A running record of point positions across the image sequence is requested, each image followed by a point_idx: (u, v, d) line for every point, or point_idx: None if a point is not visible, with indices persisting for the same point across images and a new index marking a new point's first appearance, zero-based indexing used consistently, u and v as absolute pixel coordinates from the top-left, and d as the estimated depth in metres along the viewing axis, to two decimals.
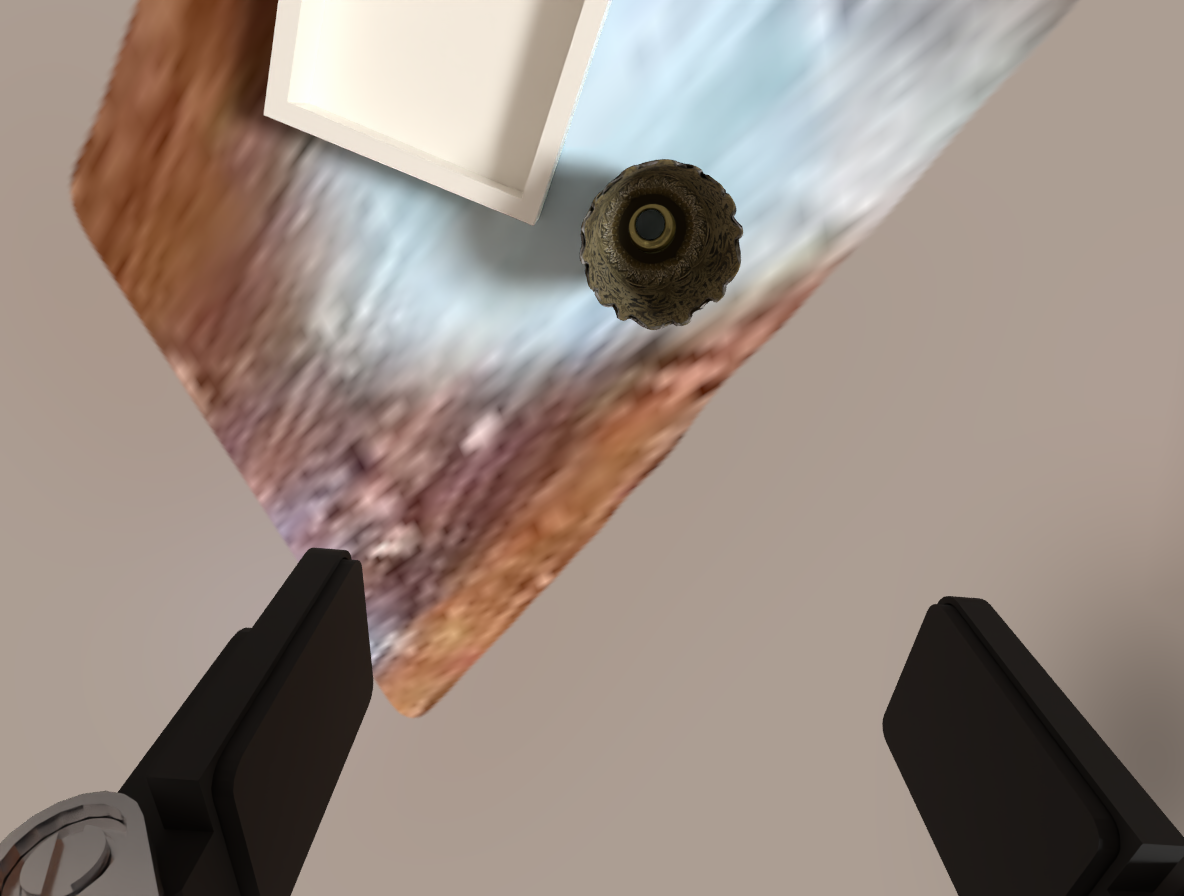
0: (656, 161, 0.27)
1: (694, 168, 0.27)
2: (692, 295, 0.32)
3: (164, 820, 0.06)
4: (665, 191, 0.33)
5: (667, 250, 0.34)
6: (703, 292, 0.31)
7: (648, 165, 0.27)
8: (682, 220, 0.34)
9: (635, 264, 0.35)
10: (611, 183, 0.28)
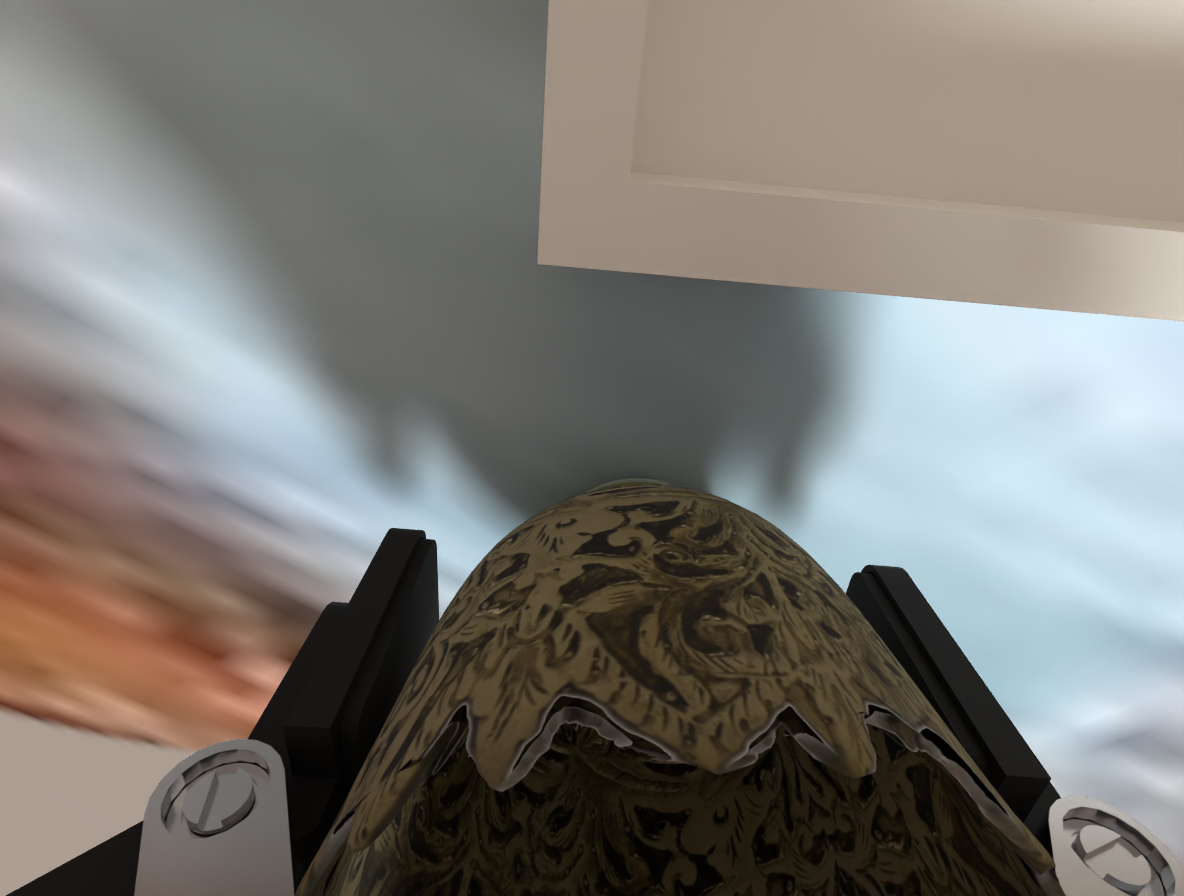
0: None
1: None
2: None
3: (293, 767, 0.07)
4: None
5: None
6: None
7: None
8: None
9: None
10: (912, 734, 0.05)
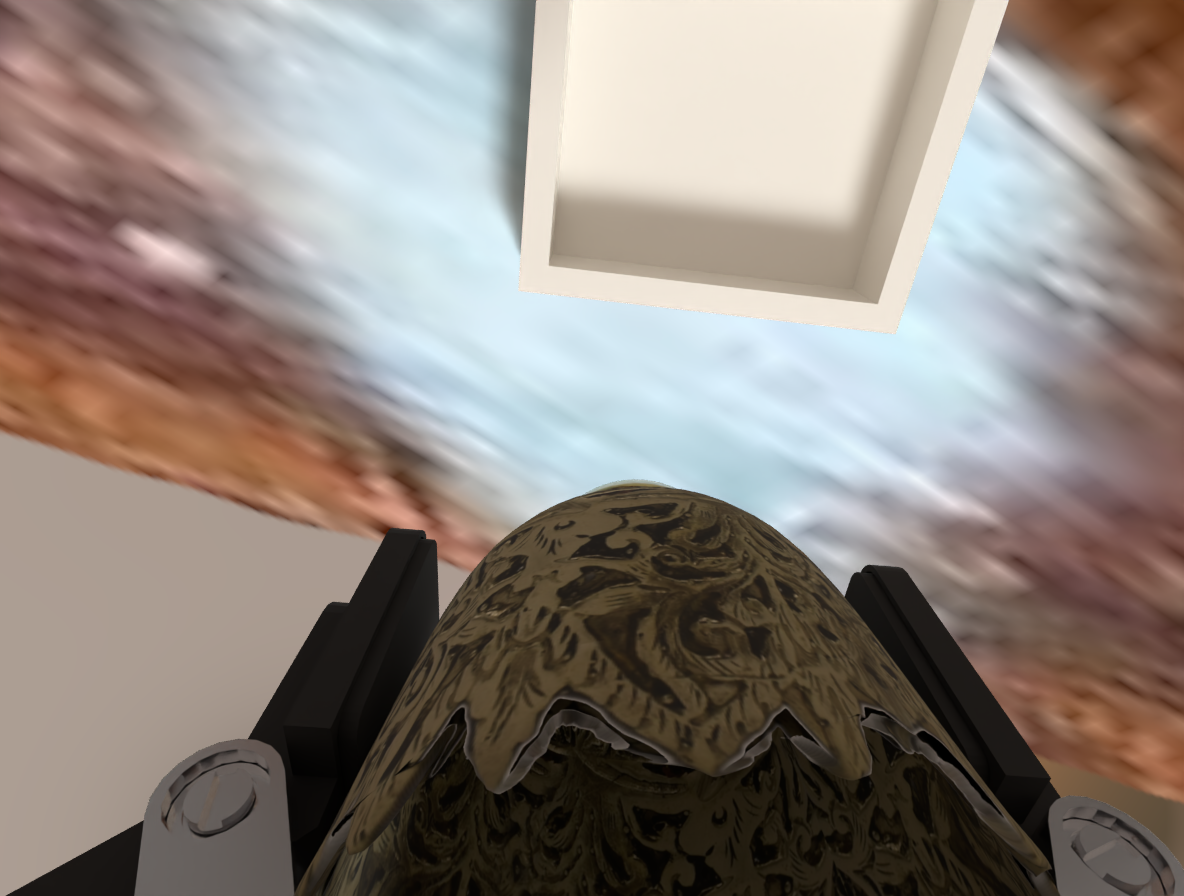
0: None
1: None
2: None
3: (293, 767, 0.07)
4: None
5: None
6: None
7: None
8: None
9: None
10: (907, 736, 0.05)
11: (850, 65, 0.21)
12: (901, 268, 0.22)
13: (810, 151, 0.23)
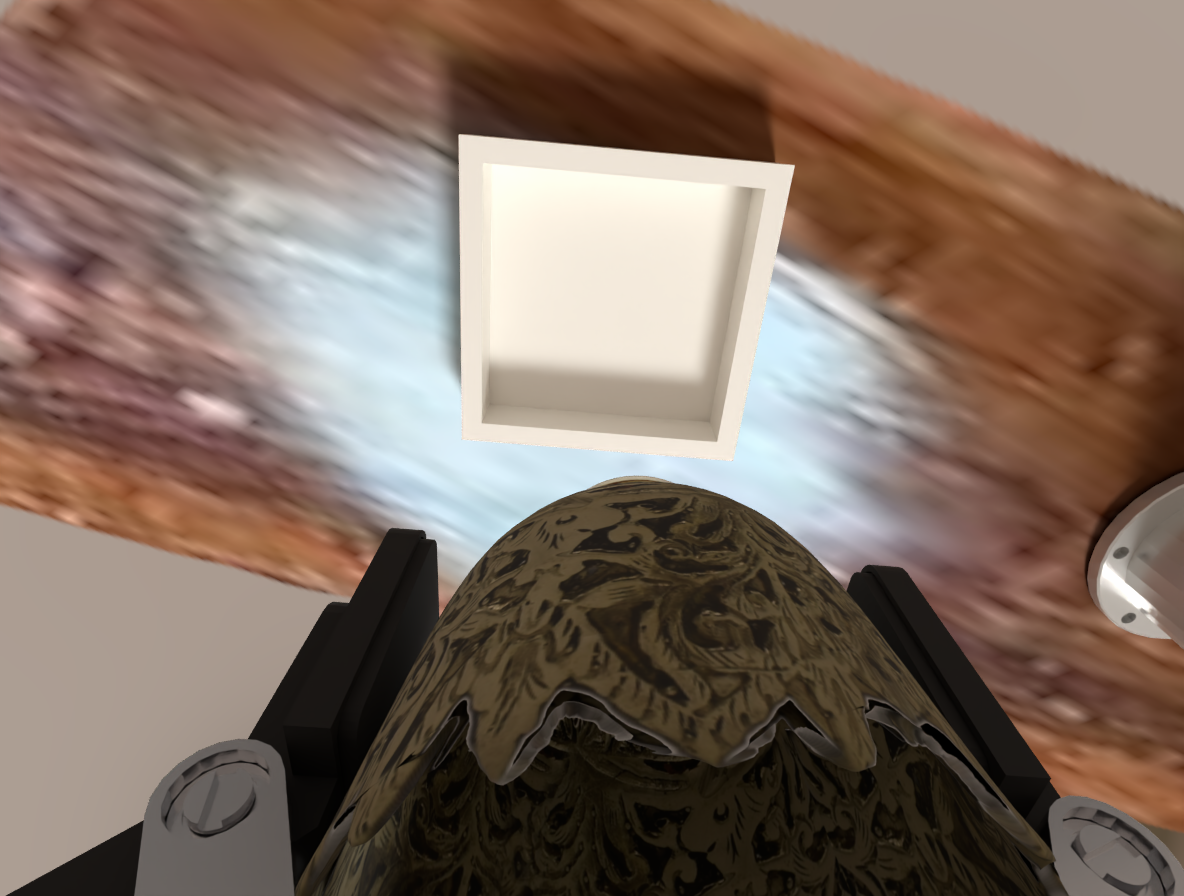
0: None
1: None
2: None
3: (293, 767, 0.07)
4: None
5: None
6: None
7: (1046, 891, 0.05)
8: None
9: None
10: (912, 729, 0.05)
11: (687, 281, 0.31)
12: (730, 419, 0.31)
13: (666, 334, 0.32)
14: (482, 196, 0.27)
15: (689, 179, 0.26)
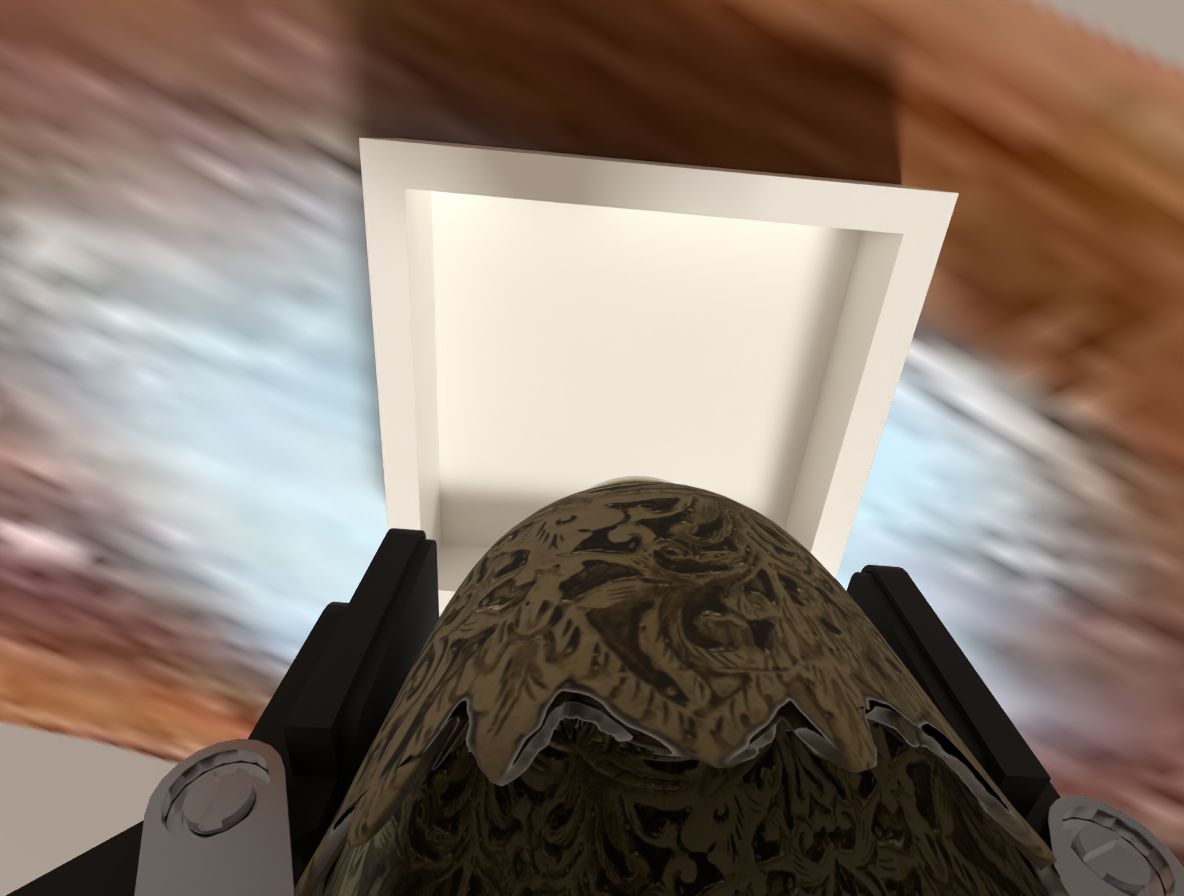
0: None
1: None
2: None
3: (293, 767, 0.07)
4: None
5: None
6: None
7: (1046, 892, 0.05)
8: None
9: None
10: (912, 729, 0.05)
11: (748, 371, 0.19)
12: None
13: (712, 449, 0.20)
14: (407, 245, 0.15)
15: (769, 218, 0.15)
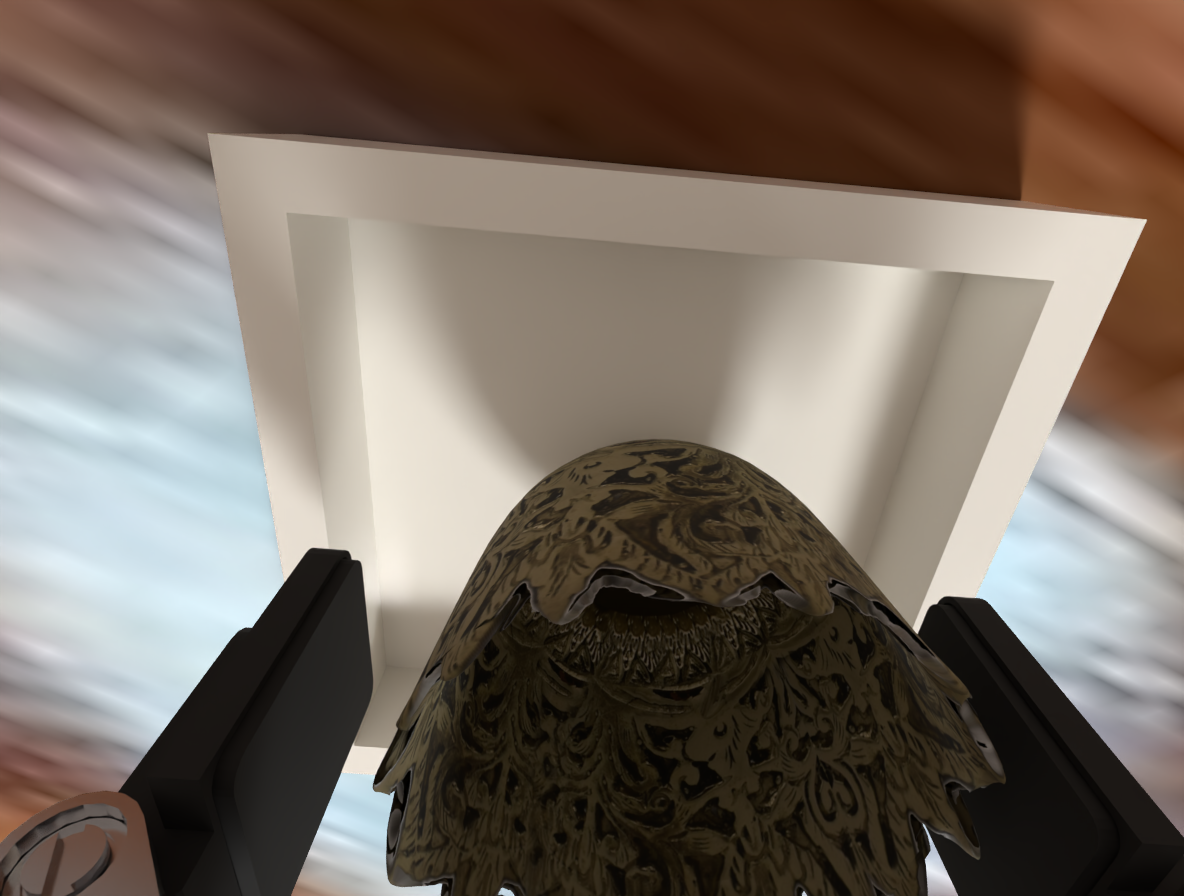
0: (998, 766, 0.07)
1: (970, 847, 0.08)
2: (541, 795, 0.11)
3: (165, 820, 0.06)
4: None
5: (608, 590, 0.14)
6: (563, 845, 0.10)
7: (968, 729, 0.07)
8: (688, 600, 0.14)
9: None
10: (865, 603, 0.07)
11: (796, 455, 0.14)
12: None
13: None
14: (297, 297, 0.10)
15: (850, 256, 0.10)
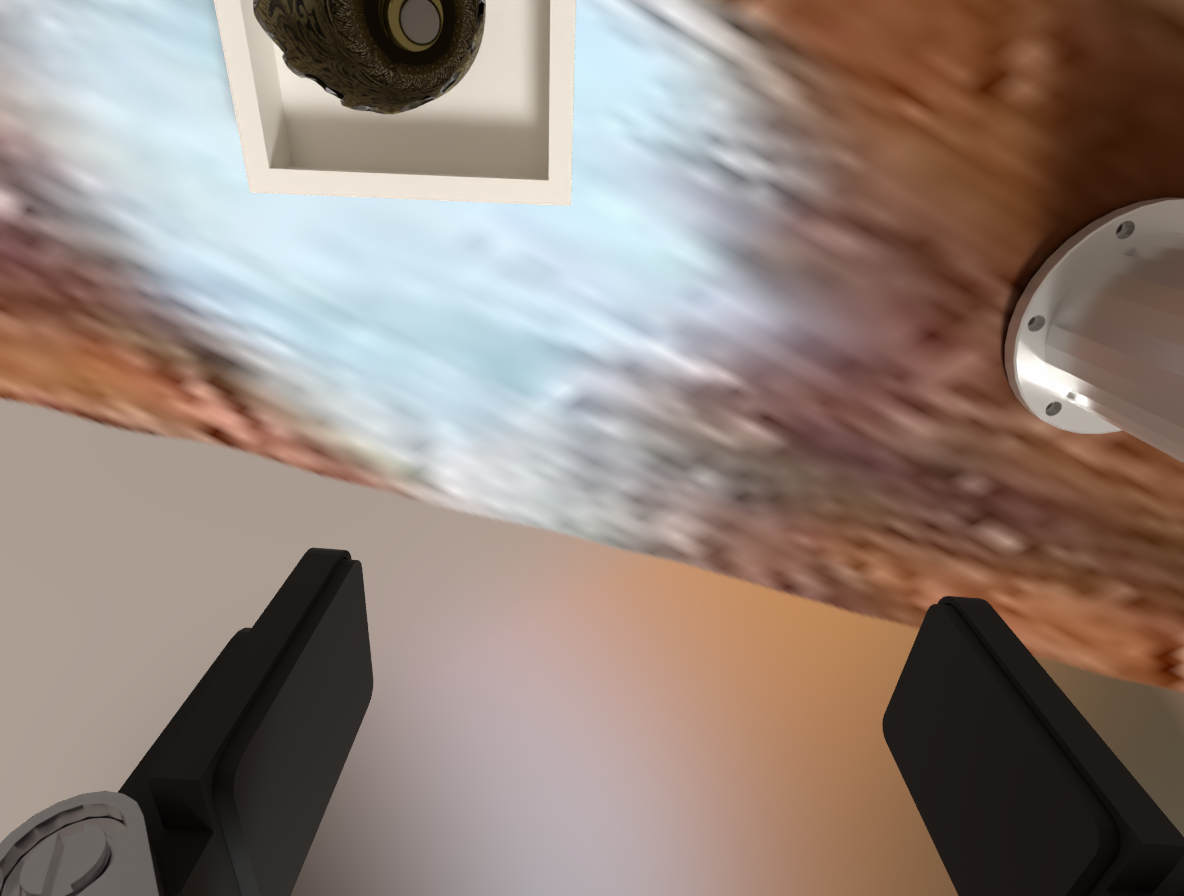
0: None
1: None
2: (343, 83, 0.23)
3: (164, 820, 0.06)
4: (459, 11, 0.25)
5: (395, 49, 0.26)
6: (351, 92, 0.22)
7: None
8: (438, 53, 0.26)
9: (358, 6, 0.25)
10: None
11: None
12: (558, 147, 0.27)
13: (483, 58, 0.27)
14: None
15: None
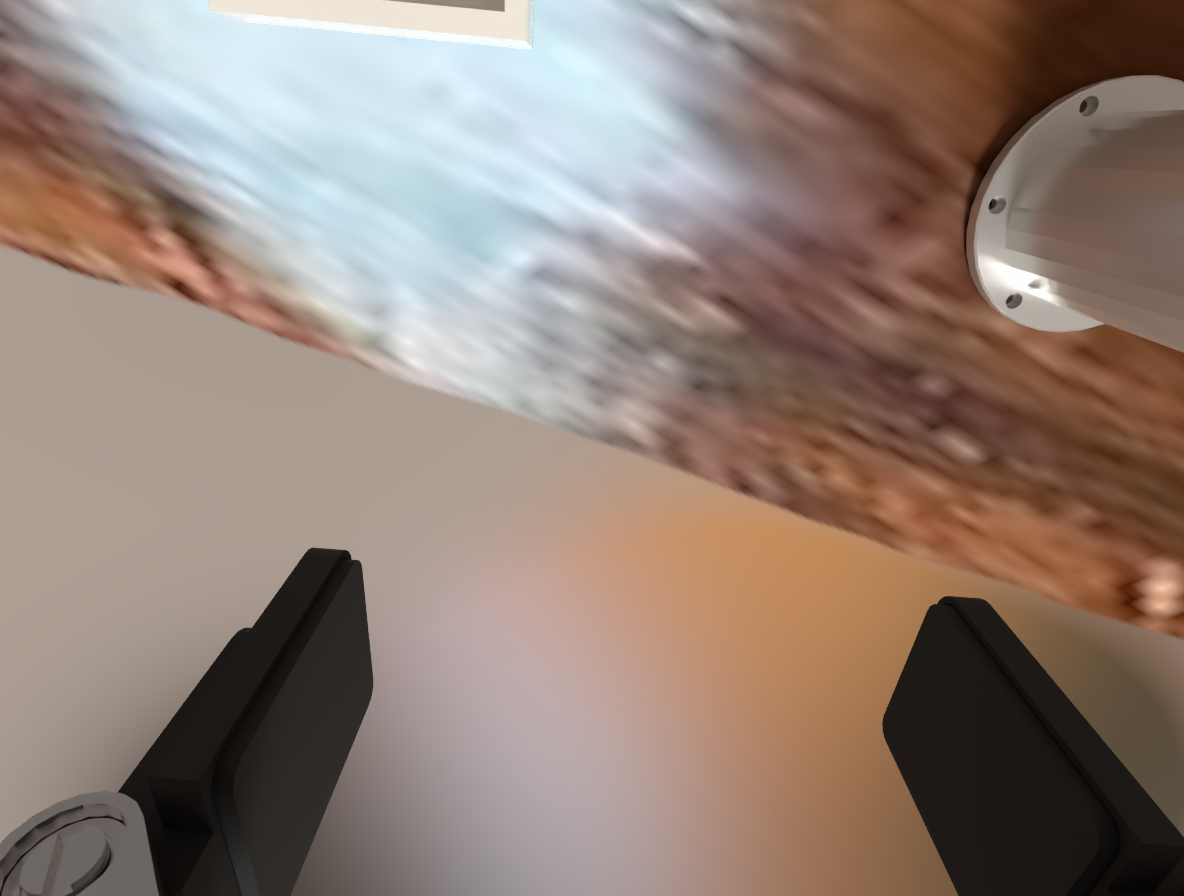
0: None
1: None
2: None
3: (164, 820, 0.06)
4: None
5: None
6: None
7: None
8: None
9: None
10: None
11: None
12: None
13: None
14: None
15: None
